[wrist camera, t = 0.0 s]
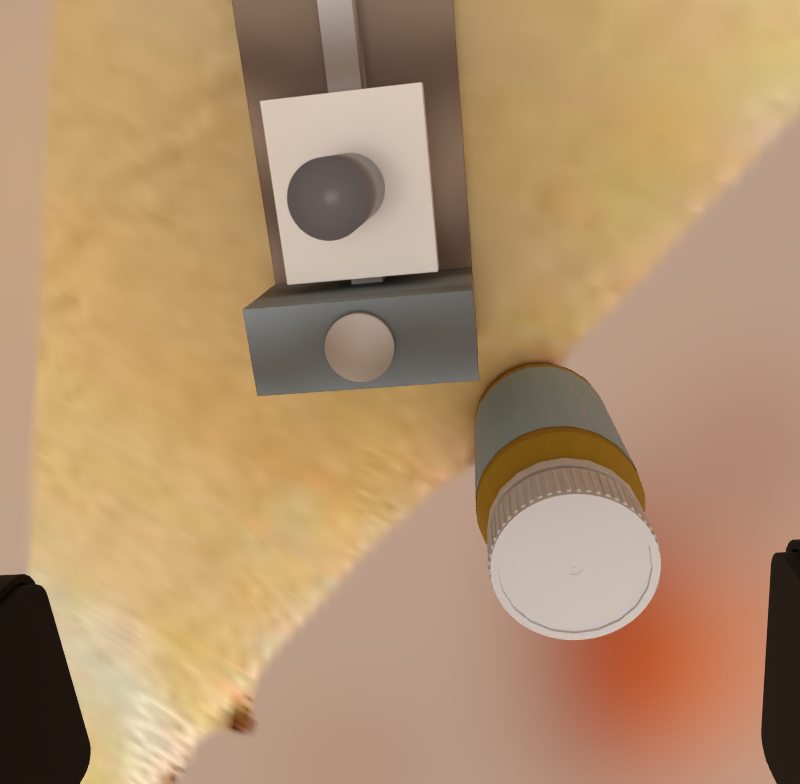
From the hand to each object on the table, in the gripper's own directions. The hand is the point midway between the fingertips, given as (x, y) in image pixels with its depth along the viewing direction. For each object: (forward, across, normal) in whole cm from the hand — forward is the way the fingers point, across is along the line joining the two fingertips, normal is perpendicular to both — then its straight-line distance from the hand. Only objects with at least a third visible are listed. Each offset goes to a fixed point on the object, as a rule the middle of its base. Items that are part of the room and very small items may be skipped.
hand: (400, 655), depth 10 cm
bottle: (+31, -4, +9) cm, 33 cm away
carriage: (+29, +4, -5) cm, 30 cm away
